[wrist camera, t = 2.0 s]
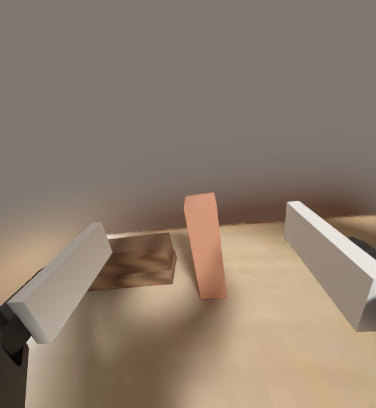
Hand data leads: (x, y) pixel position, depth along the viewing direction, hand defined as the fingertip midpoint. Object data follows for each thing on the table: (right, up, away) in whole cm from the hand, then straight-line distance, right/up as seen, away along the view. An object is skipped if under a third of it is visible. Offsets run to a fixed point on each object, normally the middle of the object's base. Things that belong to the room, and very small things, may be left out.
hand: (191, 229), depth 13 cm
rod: (+4, -12, +17) cm, 21 cm away
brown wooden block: (-12, -12, +24) cm, 29 cm away
